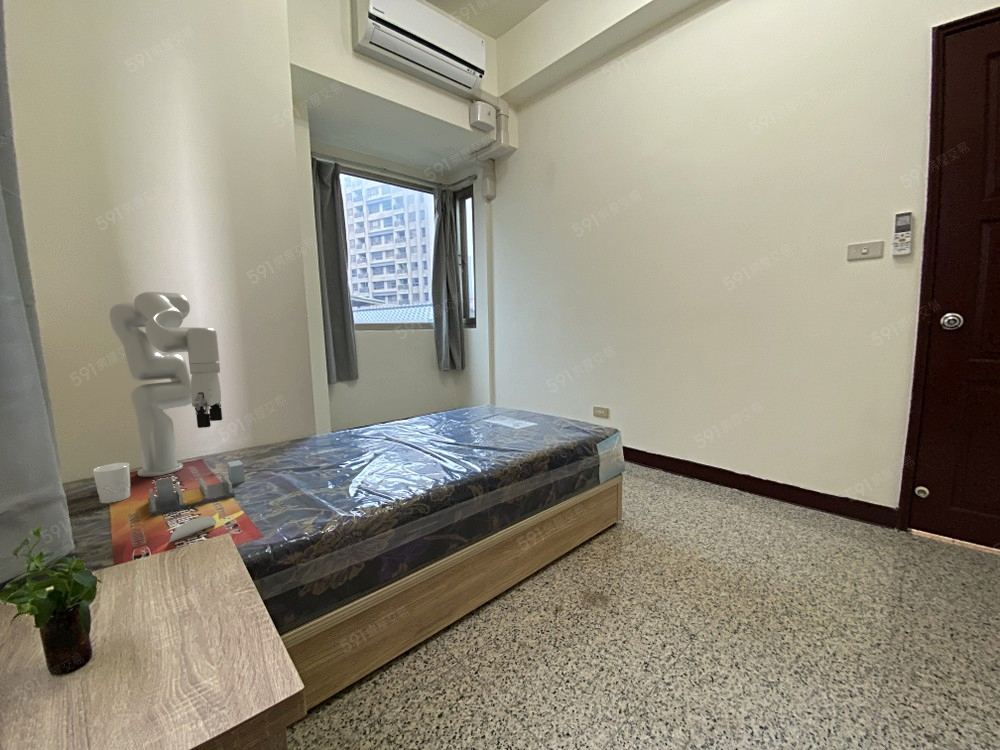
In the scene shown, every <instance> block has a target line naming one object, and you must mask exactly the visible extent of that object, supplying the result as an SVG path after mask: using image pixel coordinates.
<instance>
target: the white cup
mask: <svg viewBox="0 0 1000 750" xmlns="http://www.w3.org/2000/svg"><path fill="white" fill-rule="evenodd" d="M92 471H93V476H94V483H95V485H96V490H97V491H96V492H97V494H98V499H99V502H100V503H101V504H112V503H111V502H113V503H117V501H118V502H121V501H123V500H126V499H128V498H130V496H131V474H130V473H131V471H130V463H129V462H114V463H109V464H105V465H101V466H98V467H95V468H94V469H92Z"/></svg>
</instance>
